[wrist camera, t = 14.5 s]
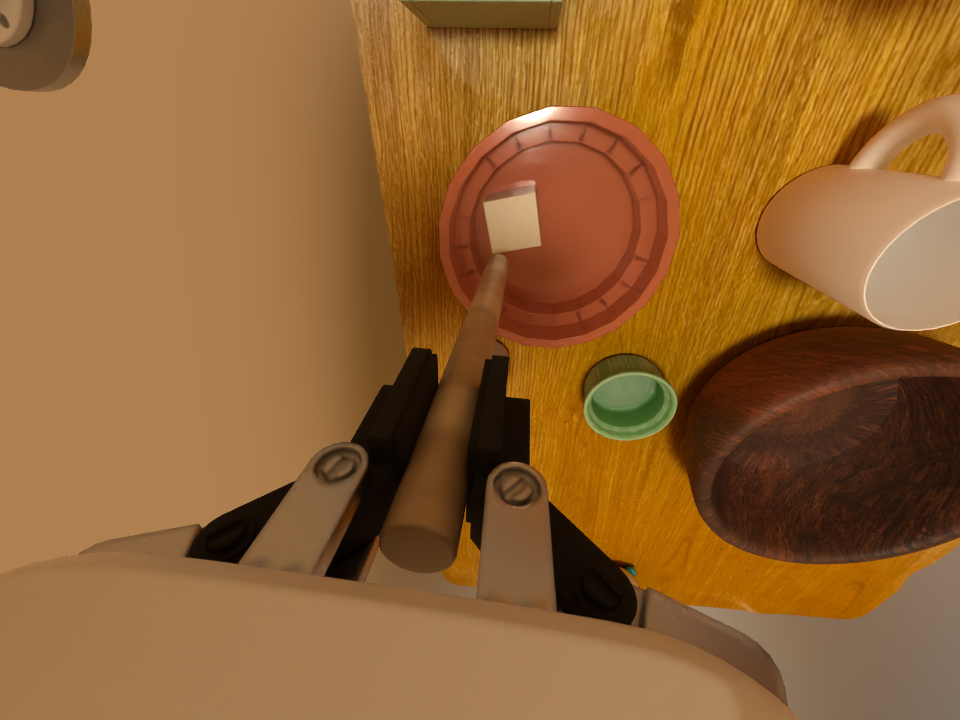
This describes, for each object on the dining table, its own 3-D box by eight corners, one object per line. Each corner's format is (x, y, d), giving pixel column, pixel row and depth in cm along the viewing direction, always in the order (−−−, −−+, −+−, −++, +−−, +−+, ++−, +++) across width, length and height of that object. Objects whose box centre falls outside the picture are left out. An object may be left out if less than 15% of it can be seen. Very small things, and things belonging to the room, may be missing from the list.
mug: (941, 104, 25) (1214, 89, 15) (837, 272, 31) (978, 340, 21) (814, 96, 25) (995, 76, 15) (738, 262, 32) (830, 324, 22)
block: (488, 194, 31) (482, 202, 28) (535, 184, 30) (535, 191, 27) (496, 241, 33) (492, 254, 30) (541, 233, 32) (541, 246, 29)
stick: (489, 277, 27) (390, 575, 8) (485, 255, 26) (365, 525, 7) (510, 274, 26) (463, 576, 7) (507, 251, 26) (446, 524, 7)
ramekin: (568, 363, 40) (572, 387, 36) (655, 337, 37) (668, 361, 33) (591, 421, 44) (597, 448, 40) (671, 402, 41) (685, 430, 37)
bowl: (454, 309, 38) (442, 337, 33) (452, 105, 28) (435, 101, 24) (626, 324, 37) (640, 356, 32) (686, 114, 27) (720, 111, 22)
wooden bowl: (800, 506, 47) (859, 591, 38) (623, 446, 45) (643, 521, 37) (1015, 354, 33) (1182, 434, 25) (772, 261, 32) (860, 312, 23)
